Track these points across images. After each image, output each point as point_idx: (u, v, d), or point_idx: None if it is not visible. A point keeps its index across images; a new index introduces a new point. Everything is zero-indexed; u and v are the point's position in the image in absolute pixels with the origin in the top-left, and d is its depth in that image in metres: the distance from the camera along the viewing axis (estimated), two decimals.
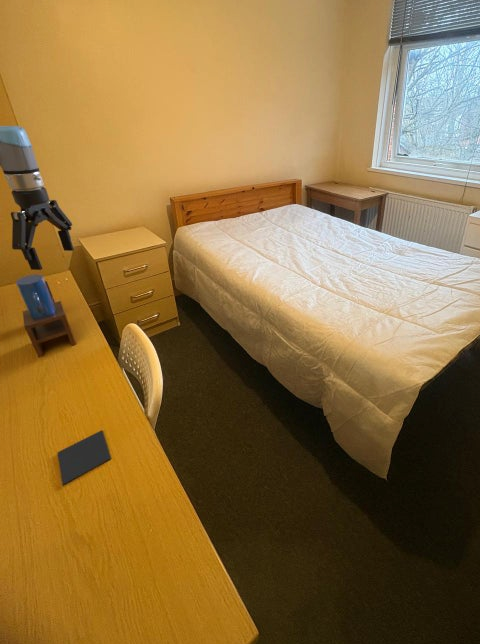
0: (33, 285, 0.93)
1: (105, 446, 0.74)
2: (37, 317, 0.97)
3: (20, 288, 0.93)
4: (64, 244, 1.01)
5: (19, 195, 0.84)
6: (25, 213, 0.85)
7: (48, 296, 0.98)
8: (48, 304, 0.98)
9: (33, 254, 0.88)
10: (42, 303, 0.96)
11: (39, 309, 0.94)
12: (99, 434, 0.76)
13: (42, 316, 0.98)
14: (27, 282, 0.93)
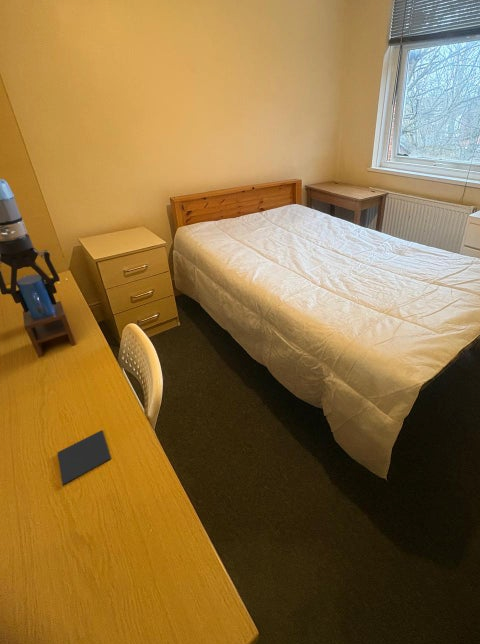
0: (33, 285, 0.93)
1: (105, 446, 0.74)
2: (37, 317, 0.97)
3: (20, 288, 0.93)
4: None
5: None
6: None
7: (48, 296, 0.98)
8: (48, 304, 0.98)
9: (18, 298, 0.94)
10: (42, 303, 0.96)
11: (39, 309, 0.94)
12: (99, 434, 0.76)
13: (42, 316, 0.98)
14: (27, 282, 0.93)
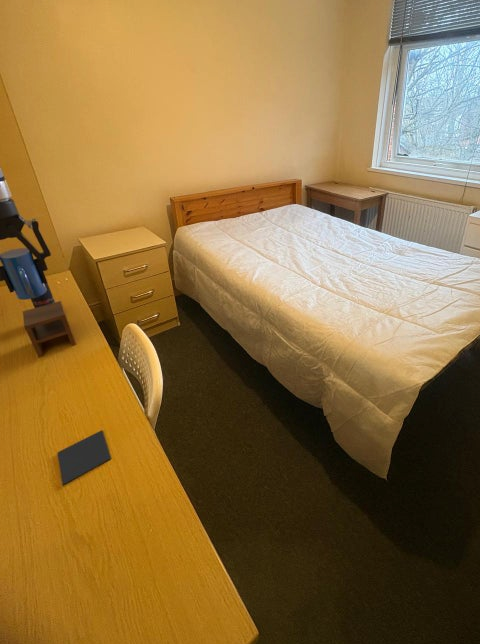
0: (19, 259, 0.79)
1: (105, 446, 0.74)
2: (24, 298, 0.83)
3: (4, 263, 0.79)
4: None
5: None
6: None
7: (37, 273, 0.84)
8: (38, 282, 0.84)
9: (2, 275, 0.80)
10: (30, 281, 0.83)
11: (27, 288, 0.81)
12: (99, 434, 0.76)
13: (31, 297, 0.84)
14: (12, 256, 0.79)
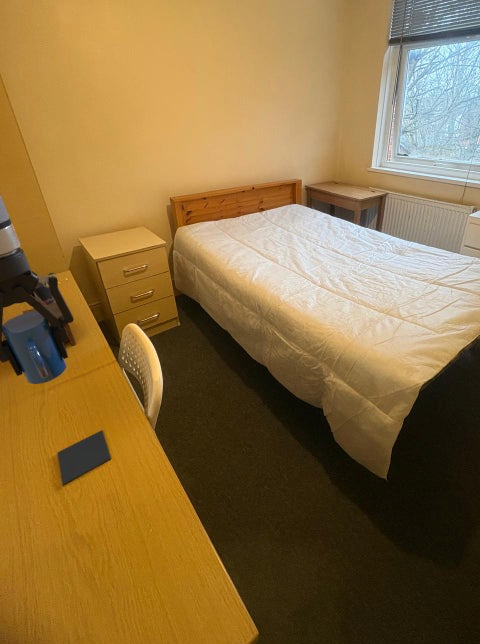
0: (30, 332, 0.56)
1: (105, 446, 0.74)
2: (37, 382, 0.60)
3: (8, 338, 0.55)
4: None
5: None
6: None
7: (55, 347, 0.60)
8: (56, 359, 0.61)
9: None
10: (45, 360, 0.59)
11: (40, 371, 0.57)
12: (99, 434, 0.76)
13: (45, 380, 0.60)
14: (20, 328, 0.55)
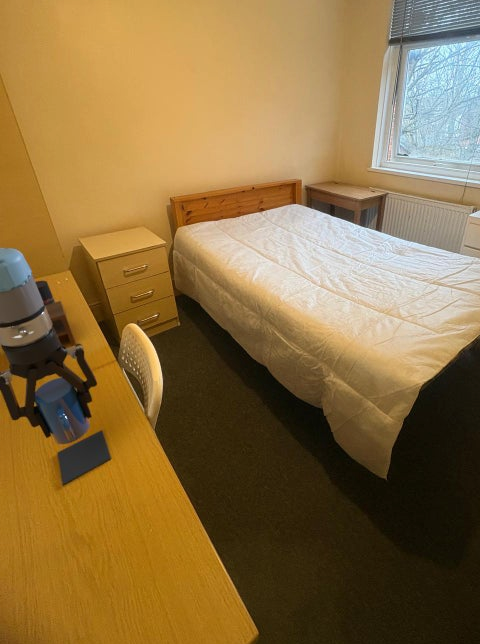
0: (59, 401, 0.61)
1: (105, 446, 0.74)
2: (64, 442, 0.65)
3: (40, 407, 0.60)
4: None
5: (2, 348, 0.54)
6: (9, 372, 0.56)
7: (80, 409, 0.66)
8: (81, 420, 0.66)
9: (37, 421, 0.62)
10: (72, 423, 0.64)
11: (68, 435, 0.62)
12: (99, 434, 0.76)
13: (71, 440, 0.65)
14: (51, 397, 0.61)
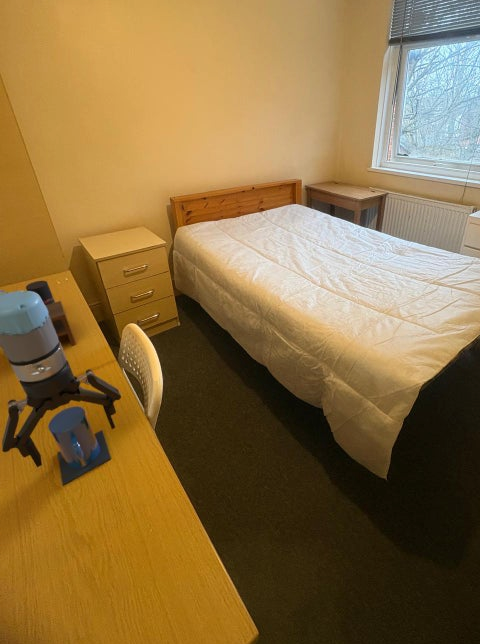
0: (73, 430, 0.65)
1: (105, 446, 0.74)
2: (76, 468, 0.69)
3: (55, 436, 0.64)
4: None
5: (20, 382, 0.58)
6: (26, 404, 0.60)
7: (92, 436, 0.70)
8: (92, 446, 0.70)
9: None
10: (84, 449, 0.68)
11: (81, 462, 0.66)
12: (99, 434, 0.76)
13: (83, 465, 0.69)
14: (65, 427, 0.65)
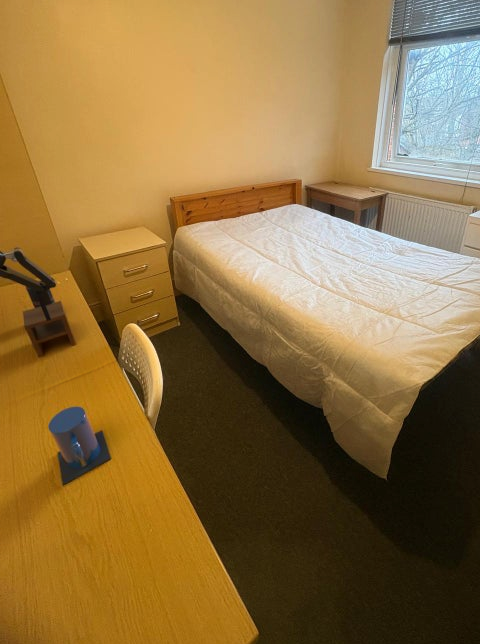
0: (73, 430, 0.65)
1: (105, 446, 0.74)
2: (76, 468, 0.69)
3: (55, 436, 0.64)
4: None
5: None
6: None
7: (92, 436, 0.70)
8: (92, 446, 0.70)
9: None
10: (84, 449, 0.68)
11: (81, 462, 0.66)
12: (99, 434, 0.76)
13: (83, 465, 0.69)
14: (65, 427, 0.65)
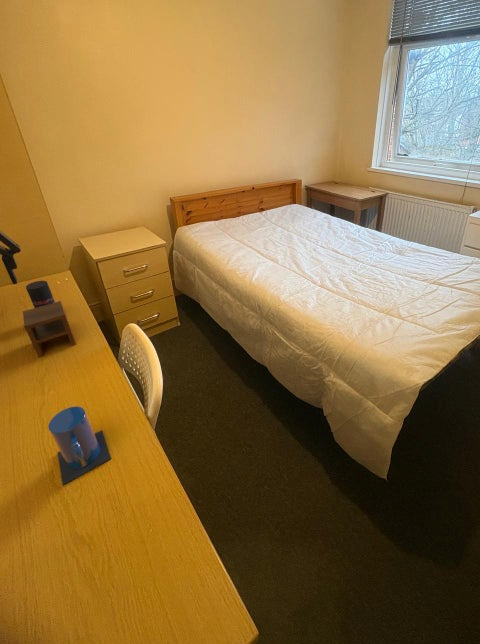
0: (73, 430, 0.65)
1: (105, 446, 0.74)
2: (76, 468, 0.69)
3: (55, 436, 0.64)
4: None
5: None
6: None
7: (92, 436, 0.70)
8: (92, 446, 0.70)
9: None
10: (84, 449, 0.68)
11: (81, 462, 0.66)
12: (99, 434, 0.76)
13: (83, 465, 0.69)
14: (65, 427, 0.65)
